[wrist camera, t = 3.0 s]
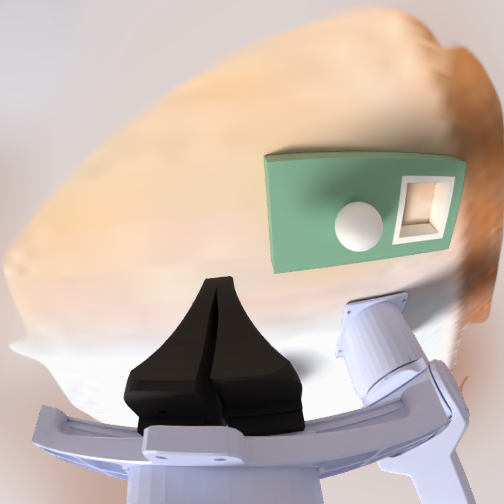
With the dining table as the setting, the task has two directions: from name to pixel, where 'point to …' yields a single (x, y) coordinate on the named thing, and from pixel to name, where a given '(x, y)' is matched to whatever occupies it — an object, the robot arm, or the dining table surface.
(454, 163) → the green
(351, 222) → the ball
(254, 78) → the dining table surface
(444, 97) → the dining table surface
